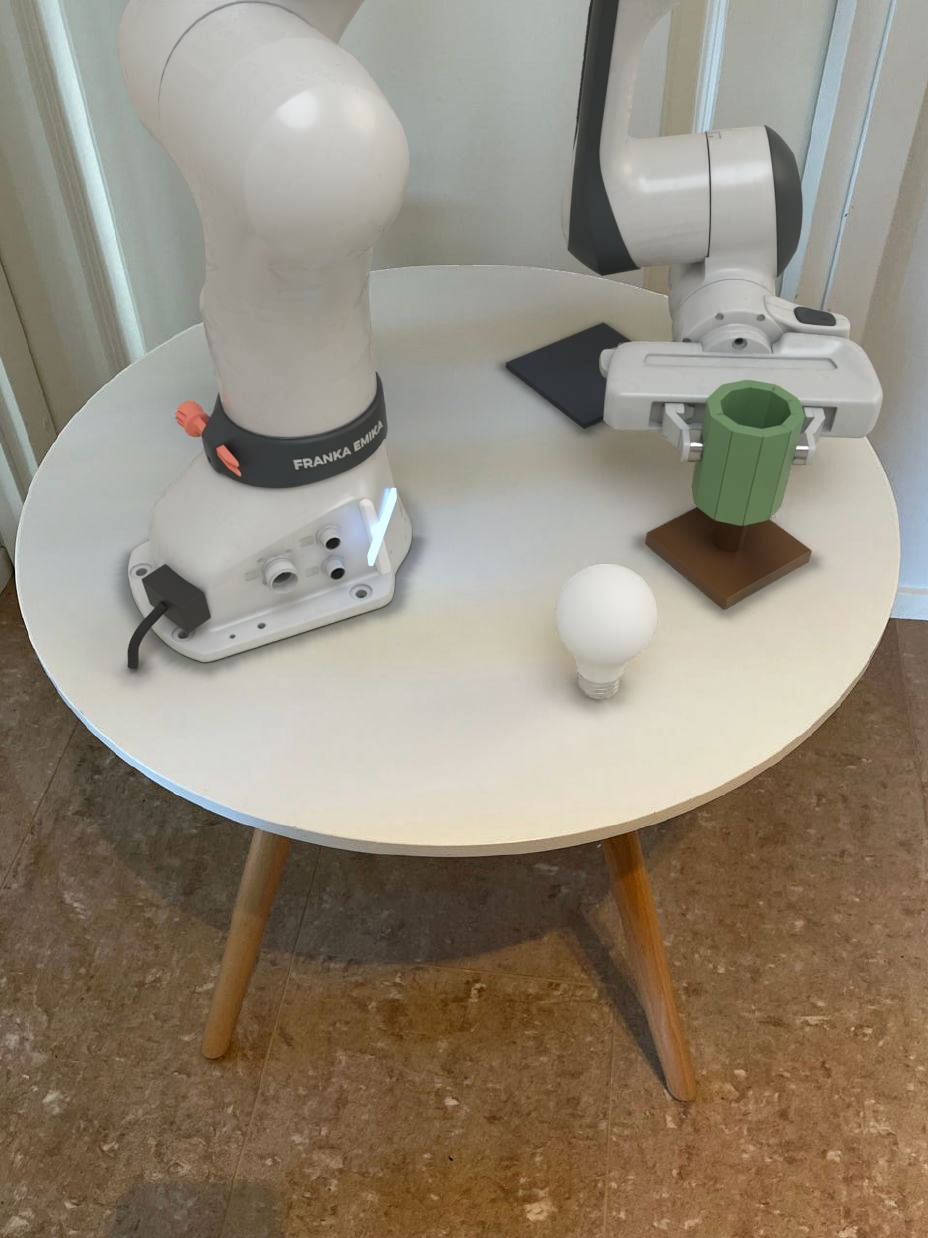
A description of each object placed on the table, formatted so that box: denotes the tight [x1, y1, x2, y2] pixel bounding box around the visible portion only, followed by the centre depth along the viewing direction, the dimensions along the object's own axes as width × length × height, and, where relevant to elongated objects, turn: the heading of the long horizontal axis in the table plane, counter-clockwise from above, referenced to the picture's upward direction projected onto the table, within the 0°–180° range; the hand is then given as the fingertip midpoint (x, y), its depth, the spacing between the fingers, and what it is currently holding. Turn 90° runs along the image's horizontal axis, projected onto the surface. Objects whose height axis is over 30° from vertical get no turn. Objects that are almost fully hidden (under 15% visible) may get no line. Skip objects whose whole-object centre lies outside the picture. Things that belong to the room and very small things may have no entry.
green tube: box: [690, 380, 805, 526], centre depth 76 cm, size 6×7×8 cm
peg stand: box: [644, 506, 813, 610], centre depth 79 cm, size 9×9×11 cm
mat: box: [505, 321, 633, 429], centre depth 100 cm, size 12×12×1 cm
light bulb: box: [553, 563, 659, 701], centre depth 70 cm, size 7×7×11 cm
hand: (748, 456), depth 75 cm, fingers closed on green tube, 6 cm apart
